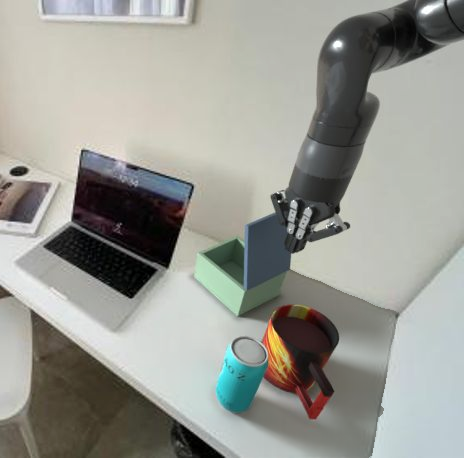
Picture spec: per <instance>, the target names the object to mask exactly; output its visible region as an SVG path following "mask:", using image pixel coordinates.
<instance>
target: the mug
mask: <svg viewBox="0 0 464 458" xmlns="http://www.w3.org/2000/svg"><path fill="white" fill-rule="evenodd" d="M260 342H261V343H262V344H263V345H264V346H265V347H266V349H267V351H268V355H269V356H268V361H269V362H268V367H267V369H266V371H265V374H264V376H263V379H264V380H266V381H267V382H268V383H269V384H270V385H272V386H273V387H275V388H277V389H279V390H282V391H284V392H289V393H294V394H295V393H296V394H297V396H298V399H299V400H300V403H301V404H302V406H303V408H304V410H305V412H306V414H307V417H308V420H317V419H318V417H319V416H320V414H321V413H322V412H323V411H324V408H325V406H326V404H327V403H328V402H329V400H330V399H331V398H332V396H333V394H334V393H335V391H336V390H334V388H333V385H332V384H331V382H330V380H329V379H328V377H327V376H326V374H325V371H324V370H323V369H324V368H325V366H326V364H327V363H328V362H329V360H330V359H331V357H332V355H333V353H334V352H335V350H336V348H337V347H338V344H339V342H340V333H339V330H338V327H336V324H334V322H333V321H332V320H331V319H329V318H328V317H327V316H326V315H325V314H323V313H321V312H320V311H318V310H316V309H315V308H312V307H309V306H306V305H302V304H295V303H293V304H291V303H290V304H289V303H288V304H283V305H281V306H278V307H277V308H275V309H274V310H273V311H272V314H271V315H270V318H269V321H268V324H267V327H266V329H265V332H264V334H263V337H262V339H261V341H260ZM315 383H316V384H317V386H318V388H319V389H320V391H319V393H318V394H317V396H316V398H315V399H314V401H313V400H312V398H311V396H310V395H309V393H308V391H309V390H310V389H312V387H313V386H314V385H315Z"/></svg>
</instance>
